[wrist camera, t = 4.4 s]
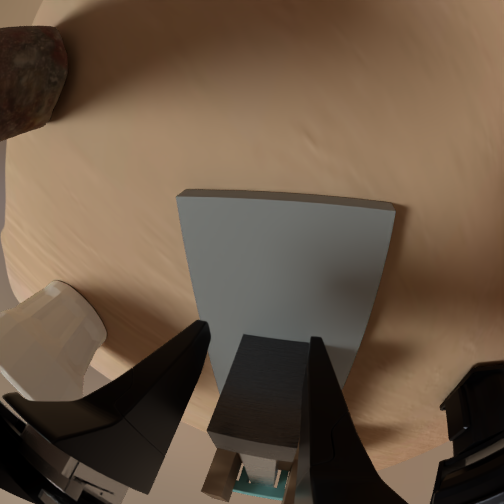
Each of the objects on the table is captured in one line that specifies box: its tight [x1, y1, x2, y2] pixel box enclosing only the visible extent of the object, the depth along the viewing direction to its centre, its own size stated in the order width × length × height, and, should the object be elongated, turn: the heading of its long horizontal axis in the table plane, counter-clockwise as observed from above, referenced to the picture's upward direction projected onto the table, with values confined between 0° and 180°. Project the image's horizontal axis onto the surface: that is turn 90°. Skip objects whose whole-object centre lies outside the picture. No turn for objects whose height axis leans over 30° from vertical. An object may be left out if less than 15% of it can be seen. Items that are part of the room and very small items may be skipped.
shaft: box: [207, 334, 309, 488], centre depth 19 cm, size 4×23×7 cm, turn 3°
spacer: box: [233, 466, 289, 500], centre depth 23 cm, size 8×3×5 cm, turn 93°
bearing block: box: [201, 437, 300, 504], centre depth 21 cm, size 9×6×10 cm, turn 93°
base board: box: [176, 190, 396, 395], centre depth 21 cm, size 10×33×1 cm, turn 2°
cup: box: [0, 281, 107, 401], centre depth 20 cm, size 12×12×11 cm
